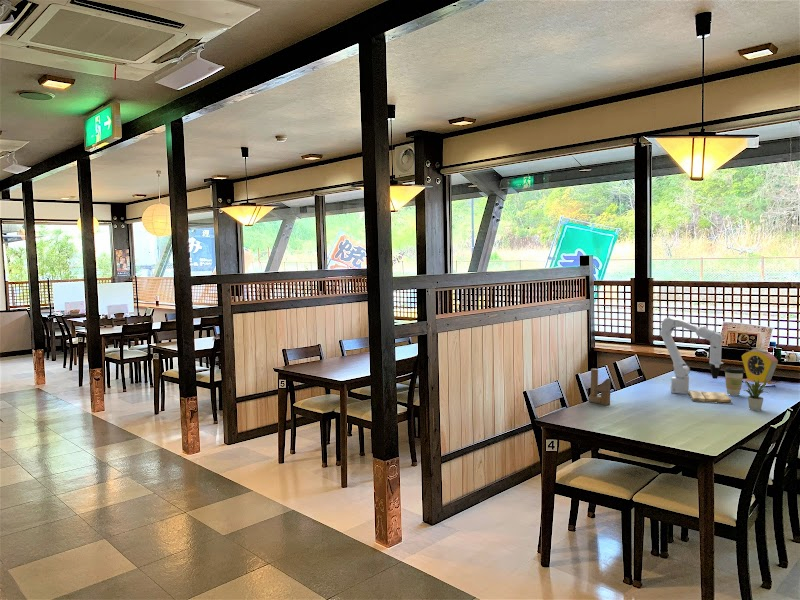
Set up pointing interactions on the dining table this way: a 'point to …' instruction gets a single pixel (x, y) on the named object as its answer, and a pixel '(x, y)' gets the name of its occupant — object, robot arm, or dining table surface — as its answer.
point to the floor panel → (700, 395)
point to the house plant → (755, 395)
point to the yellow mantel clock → (759, 365)
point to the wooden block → (603, 388)
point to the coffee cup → (733, 380)
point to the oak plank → (717, 398)
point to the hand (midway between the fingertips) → (714, 378)
